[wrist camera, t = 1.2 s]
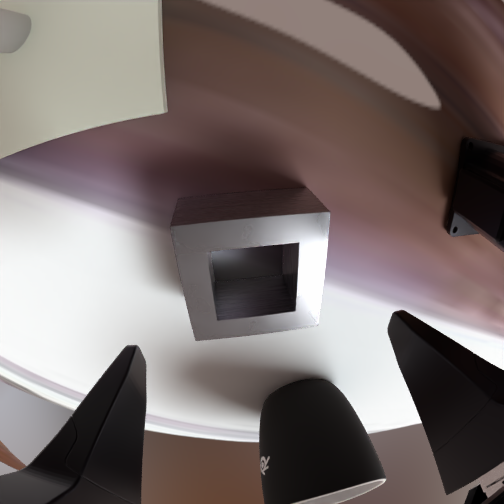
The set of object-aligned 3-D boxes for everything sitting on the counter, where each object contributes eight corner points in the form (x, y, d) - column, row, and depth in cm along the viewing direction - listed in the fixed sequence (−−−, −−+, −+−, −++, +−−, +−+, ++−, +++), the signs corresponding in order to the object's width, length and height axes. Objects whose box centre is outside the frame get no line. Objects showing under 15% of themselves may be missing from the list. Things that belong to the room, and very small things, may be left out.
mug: (237, 385, 21) (255, 509, 12) (350, 355, 21) (399, 468, 12) (264, 437, 27) (279, 519, 18) (344, 416, 27) (371, 494, 18)
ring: (307, 187, 13) (330, 211, 11) (302, 289, 16) (317, 325, 14) (178, 198, 13) (169, 226, 10) (196, 301, 16) (195, 340, 13)
